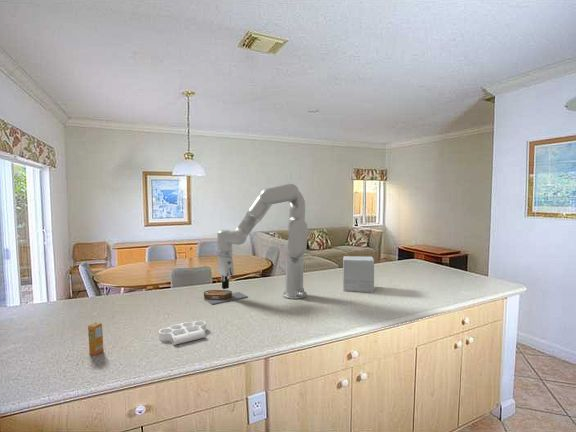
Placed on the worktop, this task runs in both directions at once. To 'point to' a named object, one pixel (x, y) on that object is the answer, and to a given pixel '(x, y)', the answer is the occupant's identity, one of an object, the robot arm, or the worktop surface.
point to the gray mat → (234, 297)
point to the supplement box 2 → (358, 273)
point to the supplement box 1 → (95, 338)
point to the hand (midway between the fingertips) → (225, 288)
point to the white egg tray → (183, 332)
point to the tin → (217, 294)
